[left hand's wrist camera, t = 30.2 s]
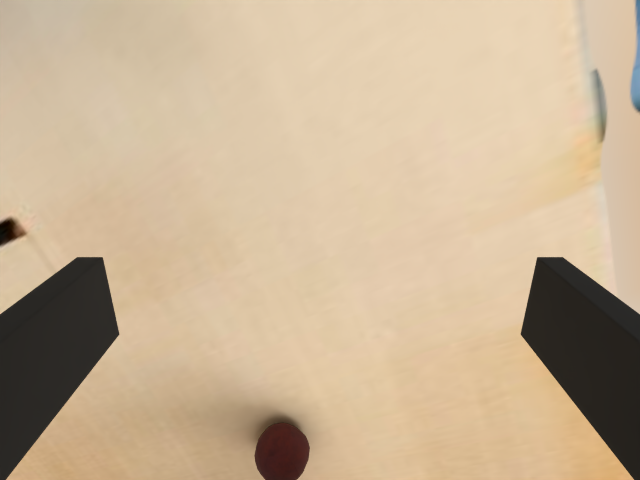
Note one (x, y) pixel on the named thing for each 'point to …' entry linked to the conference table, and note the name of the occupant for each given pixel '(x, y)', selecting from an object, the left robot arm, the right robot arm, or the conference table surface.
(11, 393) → the left robot arm
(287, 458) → the dark red ball
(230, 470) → the conference table surface
